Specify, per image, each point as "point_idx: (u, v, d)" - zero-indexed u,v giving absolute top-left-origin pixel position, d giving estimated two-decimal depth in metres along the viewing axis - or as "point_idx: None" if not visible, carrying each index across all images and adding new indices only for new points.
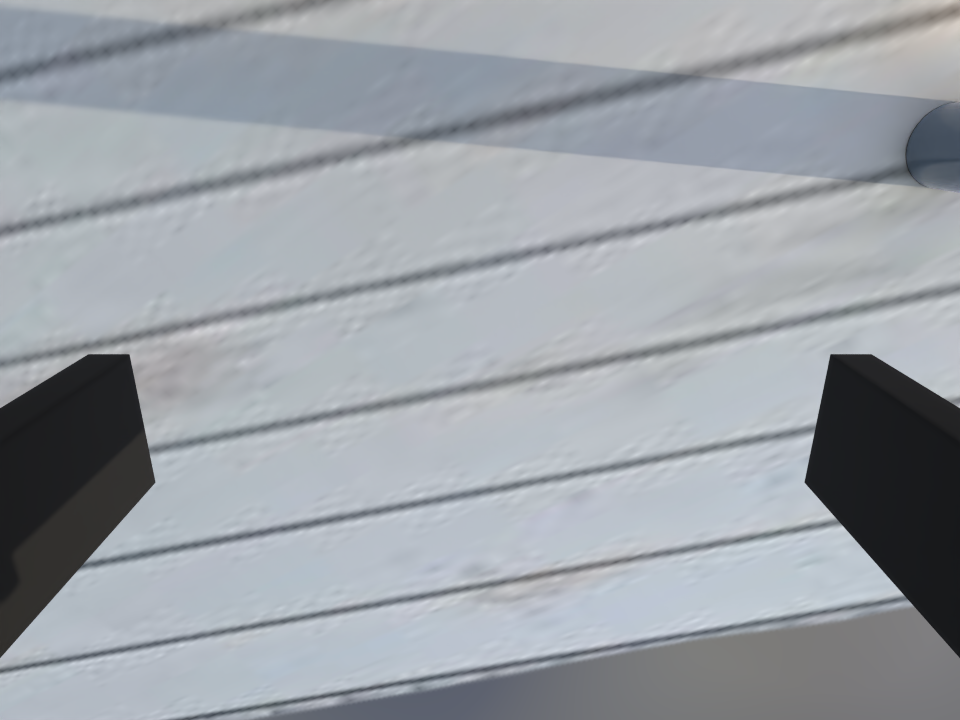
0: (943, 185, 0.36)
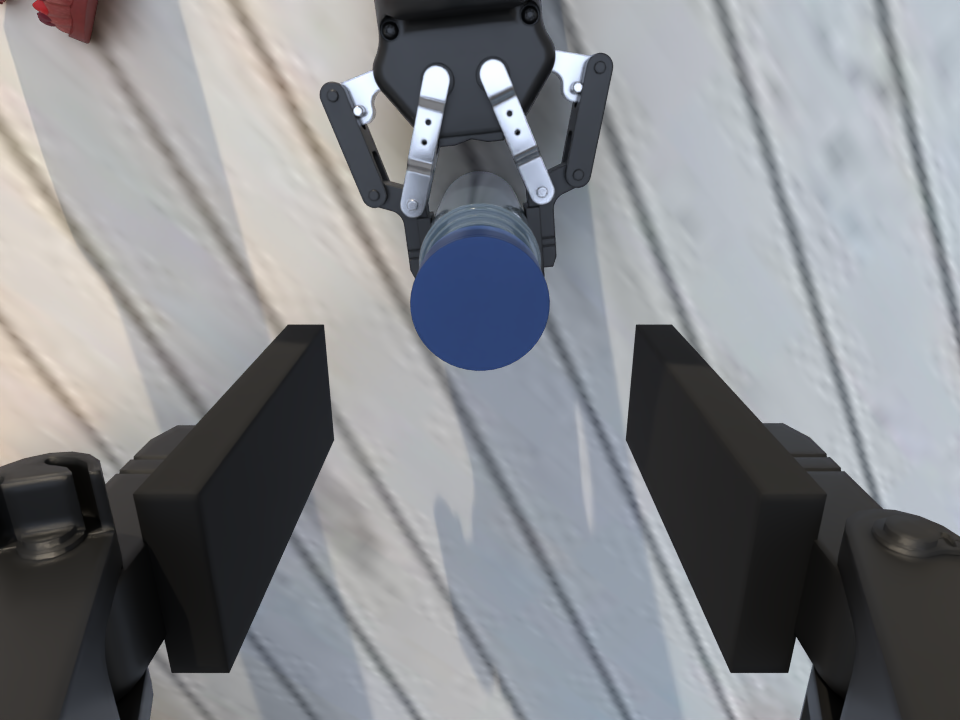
0: None
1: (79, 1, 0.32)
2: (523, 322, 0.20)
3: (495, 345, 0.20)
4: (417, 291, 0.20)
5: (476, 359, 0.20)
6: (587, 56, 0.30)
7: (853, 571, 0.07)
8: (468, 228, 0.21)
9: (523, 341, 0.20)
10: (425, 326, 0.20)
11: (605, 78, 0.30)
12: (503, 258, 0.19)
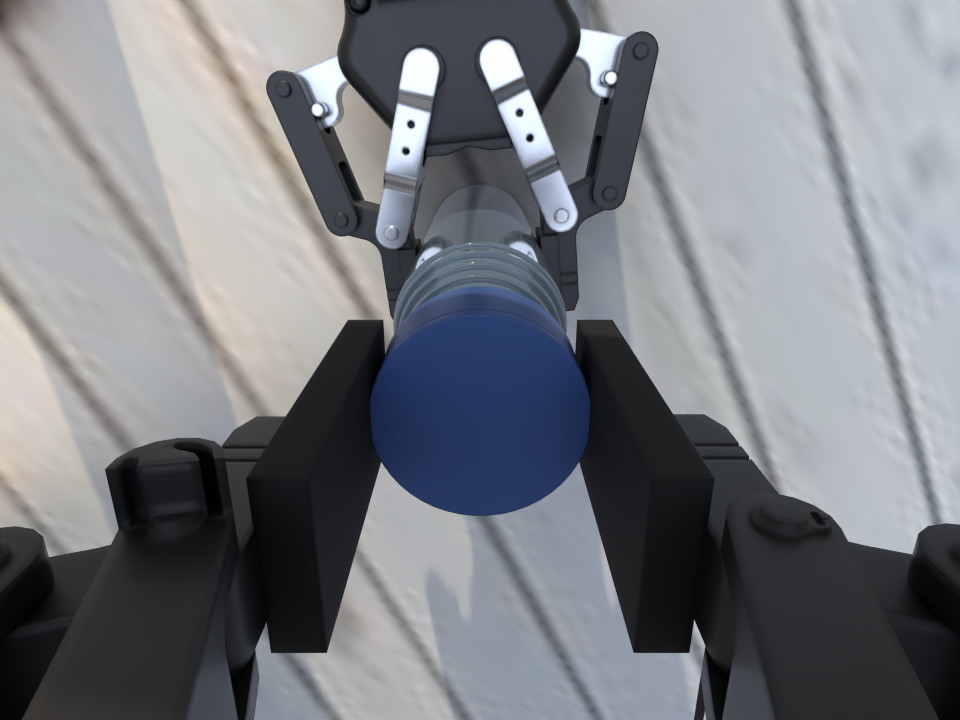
0: None
1: None
2: (549, 445, 0.13)
3: (504, 479, 0.13)
4: (379, 398, 0.12)
5: (474, 499, 0.13)
6: (623, 36, 0.23)
7: (732, 556, 0.07)
8: (462, 292, 0.13)
9: (549, 473, 0.13)
10: (393, 451, 0.13)
11: (647, 65, 0.22)
12: (518, 348, 0.12)
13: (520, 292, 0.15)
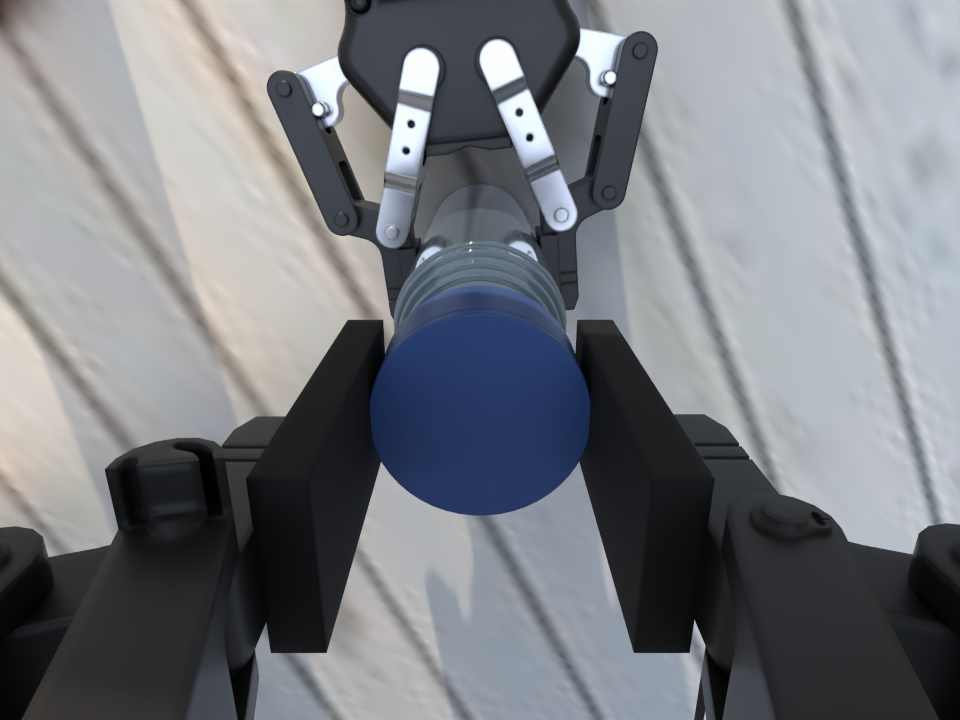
0: None
1: None
2: (509, 355, 0.12)
3: (548, 398, 0.12)
4: (455, 505, 0.13)
5: (571, 427, 0.12)
6: (622, 36, 0.23)
7: (732, 556, 0.07)
8: None
9: (543, 355, 0.12)
10: (511, 497, 0.13)
11: (647, 65, 0.22)
12: (401, 386, 0.12)
13: (520, 291, 0.16)
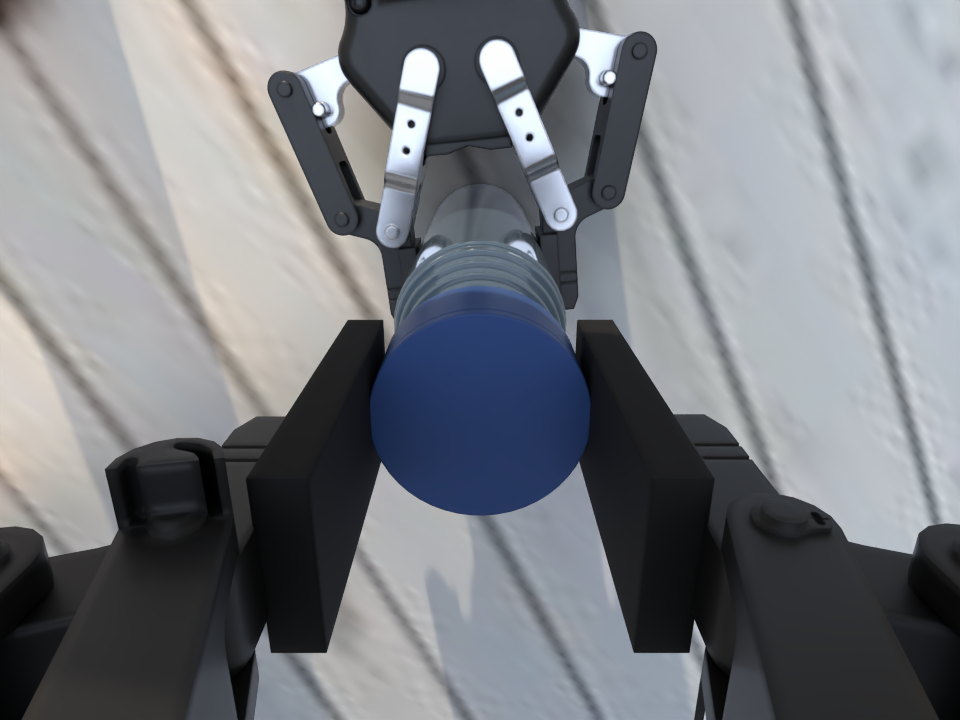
0: None
1: None
2: (409, 394, 0.12)
3: (455, 358, 0.12)
4: (577, 444, 0.13)
5: (489, 334, 0.12)
6: (621, 36, 0.23)
7: (732, 556, 0.07)
8: None
9: (408, 363, 0.12)
10: (571, 392, 0.12)
11: (646, 65, 0.22)
12: (442, 487, 0.13)
13: (520, 290, 0.16)
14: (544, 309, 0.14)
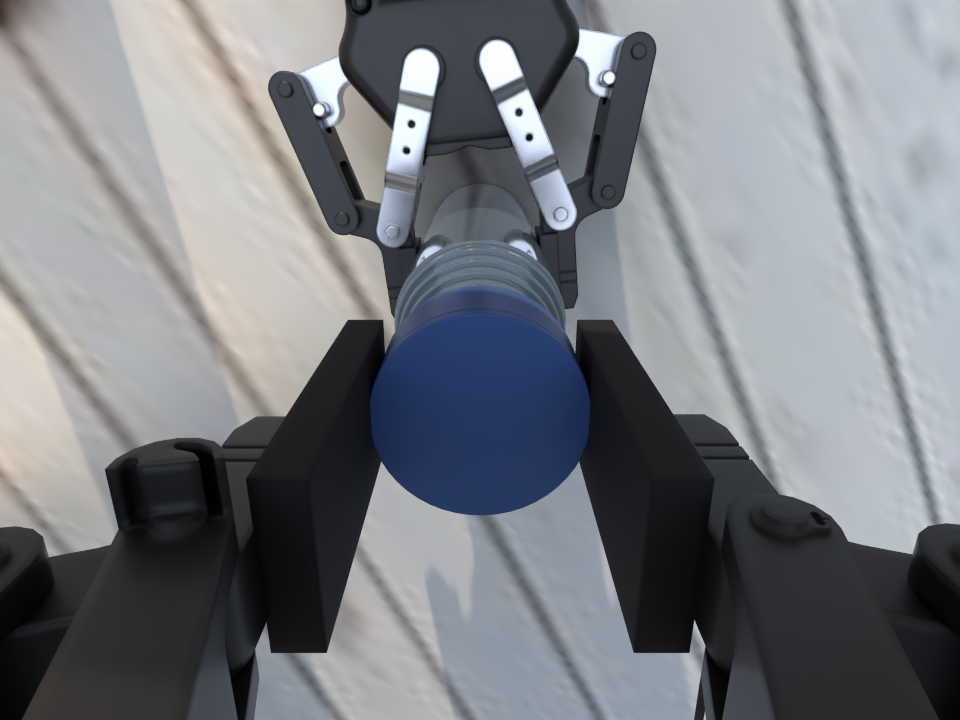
0: None
1: None
2: (451, 481, 0.13)
3: (413, 441, 0.13)
4: (510, 326, 0.12)
5: (388, 411, 0.12)
6: (621, 37, 0.23)
7: (732, 556, 0.07)
8: None
9: (419, 480, 0.13)
10: (448, 335, 0.12)
11: (645, 65, 0.22)
12: (554, 456, 0.13)
13: (519, 289, 0.16)
14: (403, 321, 0.14)
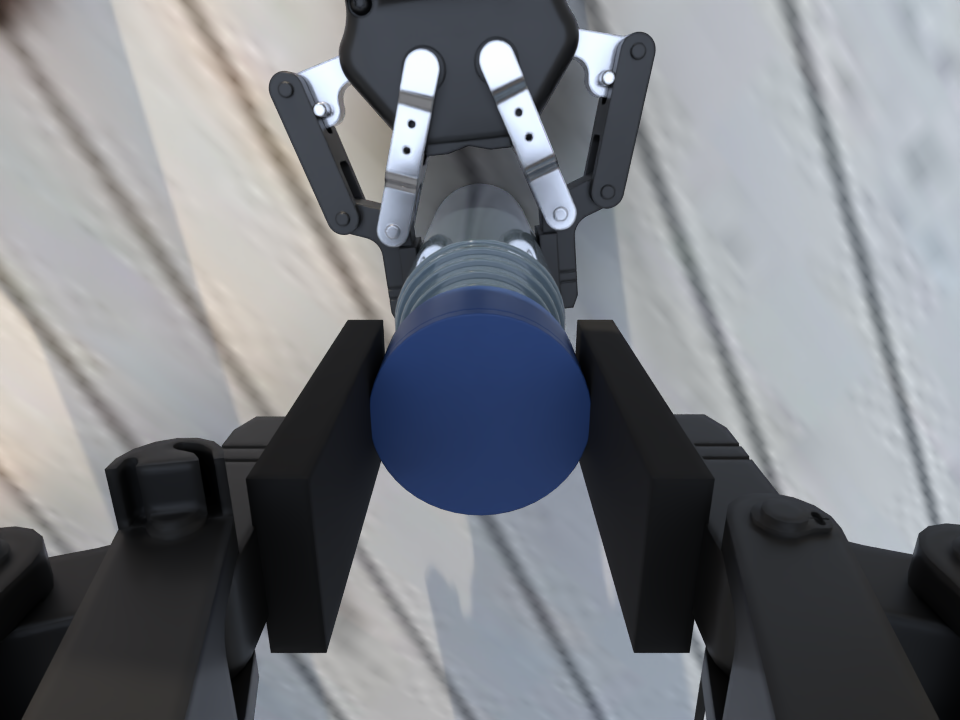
0: None
1: None
2: (547, 448, 0.13)
3: (500, 480, 0.13)
4: (380, 392, 0.12)
5: (469, 498, 0.13)
6: (620, 37, 0.23)
7: (733, 556, 0.07)
8: (468, 291, 0.13)
9: (545, 476, 0.13)
10: (391, 446, 0.13)
11: (645, 65, 0.22)
12: (523, 350, 0.12)
13: (519, 288, 0.16)
14: None
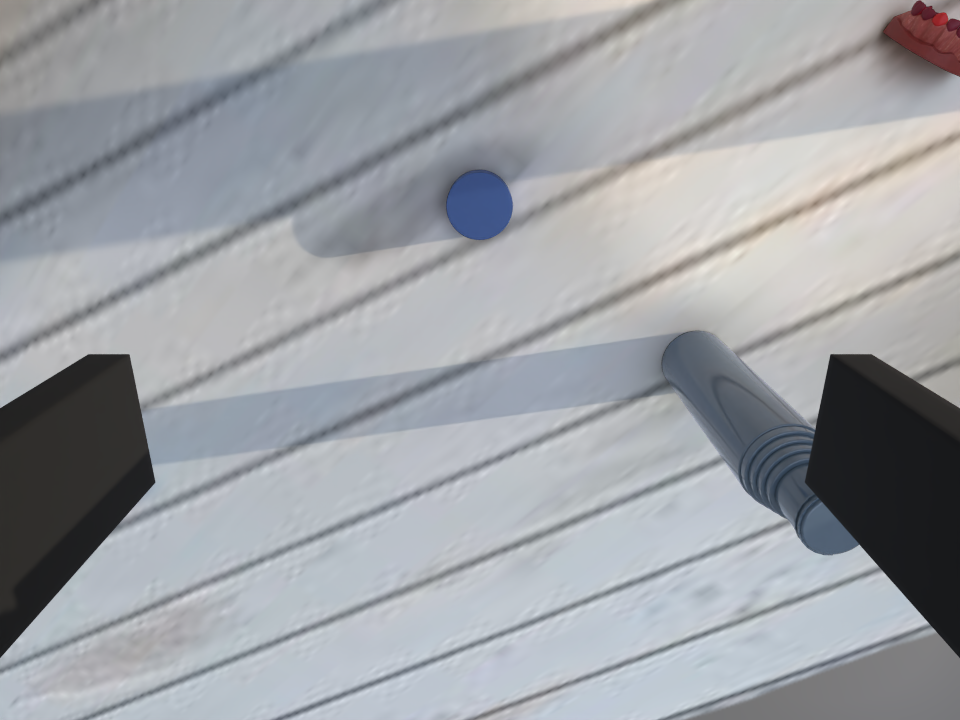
0: None
1: (937, 58, 0.37)
2: (489, 185, 0.41)
3: (499, 200, 0.42)
4: (470, 235, 0.42)
5: (506, 210, 0.42)
6: None
7: None
8: None
9: (498, 186, 0.41)
10: (487, 233, 0.42)
11: None
12: (457, 193, 0.41)
13: None
14: None
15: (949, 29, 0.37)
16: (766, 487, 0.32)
